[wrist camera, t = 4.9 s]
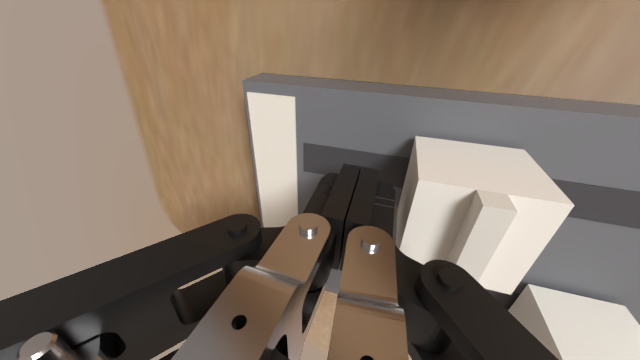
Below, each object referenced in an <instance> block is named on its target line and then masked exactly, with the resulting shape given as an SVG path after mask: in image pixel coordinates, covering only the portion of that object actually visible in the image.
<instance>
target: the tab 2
mask: <svg viewBox="0 0 640 360" xmlns="http://www.w3.org/2000/svg"><path fill="white" fill-rule="evenodd" d="M508 311H509V312H510V313H511V314H512V315H513V316H514V317H515V318H516V319H517V320H518V321H519V322H520V323H521V324H522V325H523V326H524V327H525V328H526V329H527V330H528V331H529V332H530V333H531V334H532V335H534V336H535V337H536V338H537V339H538V340H539V341H540V342H541V343H542V344H543V345H544V346H545V347H546V348H547V349H548V350H549V351H550V352H551V353H552V354H553V355H554V356H555V357H556V358H557V359H558V360H640V325H639V324H638V322H637V321H636V320H635V318H634V317H633V316H632V314H631V313H630V312H629V310H628V309H627V308H626V306H623V305H619V304H614V303H610V302H605V301H601V300H597V299H592V298H588V297H583V296H579V295H575V294H570V293H566V292H562V291H557V290H553V289H548V288H544V287H540V286H535V285H531V284H528V285H527V286H526V287H525V289H524V290H523V291H522V293H521V294H520V295H519V297H518V298H517V299H516V301H515V302H514V304H513V305H512V306H511V308H510V309H509V310H508Z"/></svg>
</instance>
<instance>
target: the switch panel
mask: <svg viewBox="0 0 640 360" xmlns="http://www.w3.org/2000/svg"><path fill="white" fill-rule="evenodd" d="M242 82H243V89H244V97H245V104H246V112H247V120H248V127H249V135H250V143H251V150H252V158H253V166H254V173H255V181H256V189H257V196H258V204H259V211H260V219H261V227H282V226H286V224H287V223H288V221H289V220H290V219H291V218H293V217H294V216H296V215H299V214H302V213H303V211H304V210H305V208H306V206H307V204H308V202H309V200H310V198H311V196H312V195H313V193H314V191H315V189H316V187H317V186H318V183H319V182H320V180H321V178H322V177H324V176H325V175H327V174H328V173H335V174H339V173H340V171H341V168H342V166H343V164H344V163H345V164H351V165H357V166H361V169H362V166H364V167H370V168H376V169H380V171H379V176H378V181H381V182H387V183H391V185H392V186H393V188H394V190H395V191H396V193H395V207H394V224H393V240H394V243H395V245H396V229H397V210H398V206H399V202H400V198H401V194H402V190H403V185H404V181H405V177H406V173H407V169H408V165H409V161H410V157H411V152H412V148H413V144H414V140H415V136H421V137H429V138H436V139H444V140H452V141H460V142H468V143H476V144H484V145H492V146H500V147H508V148H515V149H523V150H525V151H526V152H527V153H528V154H529V155H530V156H531V157H532V158H533V160H534V161H535V162H536V163H537V164H538V165H539V166H540V167H541V168H542V170H543V171H544V172H545V173H546V174H547V175H548V176H549V177H550V178H551V180H552V181H553V182H554V183H555V184H556V185H557V186H558V187H559V188H560V190H561V191H562V192H563V193H564V194H565V195H566V196H567V197H568V198H569V199H570V201H571V202H572V203H573V204H574V205H575V206H574V207H573V208H572V210H571V211H570V213H569V214H568V215H567V217H566V218H565V220H564V221H563V222H562V224H561V225H560V227H559V228H558V229H557V231H556V232H555V234H554V235H553V237H552V238H551V239H550V241H549V242H548V244H547V245H546V246H545V248H544V249H543V251H542V252H541V253H540V255H539V256H538V258H537V259H536V260H535V262H534V263H533V265H532V266H531V267H530V269H529V270H528V272H527V273H526V274H525V276H524V277H523V279H522V280H521V281H520V283H519V284H518V286H517V287H516V288H515V290H514V291H513V293H512V294H511V295H509V294H505V293H501V292H497V291H493V290H488V289H486V290H487V291H488V292H489V293H490V294H491V295H492V296H493V297H494V298H495V299H496V300H497V301H498V302H499V303H500V304H501V305H502V306H503V307H504V308H506V309H507V310H509V309H510V308H511V306H512V305H513V304H514V302H515V301H516V299H517V298H518V297H519V295H520V294H521V293H522V291H523V290H524V289H525V287H526V286H527V285H528V284H531V285H535V286H540V287H544V288H548V289H553V290H557V291H562V292H566V293H570V294H575V295H579V296H583V297H588V298H592V299H597V300H601V301H605V302H610V303H614V304H619V305H623V306H626V308H627V309H628V310H629V312H630V313H631V314H632V316H633V317H634V318H635V320H636V321H637V322H638V324H639V325H640V105H630V104H618V103H606V102H595V101H583V100H571V99H560V98H548V97H536V96H524V95H513V94H501V93H489V92H478V91H466V90H454V89H443V88H431V87H419V86H407V85H396V84H384V83H372V82H361V81H349V80H337V79H326V78H314V77H302V76H290V75H279V74H267V73H261V74H258V75H256V76H253V77H250V78H248V79H245V80H242ZM340 266H341V261H340V265H339V269H338V270H336V269H332V268H331V271H330V274H329V278H328V280H327V282H326V288H325V290H326V291H330V292H333V293H337V294H338V293H339V287H340V281H341V275H342V271H340Z"/></svg>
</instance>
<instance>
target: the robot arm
mask: <svg viewBox="0 0 640 360" xmlns="http://www.w3.org/2000/svg"><path fill="white" fill-rule="evenodd" d="M379 171H380V169H376V168H370V167H364V166H362V169H361V166H357V165H351V164H345V163H344V164H343V166H342V168H341V171H340V173H339V174H335V173H328V174H327V175H325V176H324V177H322V178H321V180H320V182H319V183H318V186H317V187H316V189H315V191H314V193H313V195H312V196H311V198H310V200H309V202H308V204H307V206H306V208H305V210H304V211H303V213H302V214H299V215H296V216H294V217H293V218H291V219H290V220H289V221H288V223H287V224H286V226H282V227H262V228H261V225H260V222H259V220H258V219H257V218H256V217H254V216H252V215H248V214H236V215H232V216H229V217H226V218H223V219H221V220H218V221H215V222H212V223H210V224H207V225H204V226H202V227H199V228H196V229H194V230H191V231H188V232H185V233H183V234H180V235H177V236H175V237H172V238H169V239H166V240H164V241H161V242H159V243H156V244H153V245H151V246H148V247H145V248H142V249H139V250H137V251H134V252H131V253H129V254H126V255H123V256H121V257H118V258H115V259H112V260H110V261H107V262H104V263H102V264H99V265H96V266H94V267H91V268H88V269H85V270H83V271H80V272H78V273H75V274H72V275H70V276H67V277H64V278H61V279H59V280H56V281H53V282H50V283H48V284H45V285H42V286H40V287H37V288H34V289H32V290H29V291H26V292H24V293H21V294H18V295H15V296H13V297H10V298H7V299H5V300H2V301H0V360H150V359H152V358H153V357H155V356H157V355H159V354H160V353H162V352H164V351H165V350H167V349H169V348H171V347H173V346H175V345H176V344H178V343H180V342H181V341H183V340H185V339H186V341H185V342H184V343H183V345H182V346H181V347H180V349H177V350H175V351H173V352H171V353H169V354H168V355H166V356H164V357H163V358H161V359H159V360H300V358H301V355H302V350H303V346H304V342H305V339H306V336H307V334H308V331H309V329H310V326H311V324H312V321H313V319H314V316H315V314H316V311H317V309H318V306H319V304H320V301H321V298H322V296H323V293H324V291H325V288H326V282H327V280H328V278H329V274H330V271H331V268H332V269H336V270H338V269H339V265H340V261H341V266H340V271H342V275H341V281H340V287H339V293H338V297H337V302H336V308H335V315H334V321H333V327H332V333H331V339H330V345H329V352H328V358H327V360H408V353H409V355H410V357H411V358H412V360H558V359H557V358H556V357H555V356H554V355H553V354H552V353H551V352H550V351H549V350H548V349H547V348H546V347H545V346H544V345H543V344H542V343H541V342H540V341H539V340H538V339H537V338H536V337H535V336H534V335H532V334H531V333H530V332H529V331H528V330H527V329H526V328H525V327H524V326H523V325H522V324H521V323H520V322H519V321H518V320H517V319H516V318H515V317H514V316H513V315H512V314H511V313H510V312H509V311H508V310H507V309H506V308H504V307H503V306H502V305H501V304H500V303H499V302H498V301H497V300H496V299H495V298H494V297H493V296H492V295H491V294H490V293H489V292H488V291H487V290H486V289H485V288H484V287H483V286H482V285H481V284H480V283H479V282H477V281H476V280H475V279H474V278H473V277H472V276H471V275H470V274H469V273H468V272H467V271H466V270H464V269H463V268H462V267H460V266H458V265H456V264H454V263H452V262H449V261H445V260H431V261H428V262H426V263H425V264H424V265H423V264H421V263H419V262H417V261H415V260H413V259H411V258H409V257H408V256H406V255H405V254H403V253H402V252H401V251H400V250H399V249H398V248H397V246H396V245H395V243H394V240H393V224H394V207H395V193H396V191H395V190H394V188H393V186H392V185H391V183H387V182H381V181H378V176H379ZM220 268H222V269H223V270H222V271H220V272H218V273H216V274H214V275H211V276H209V277H207V278H205V279H203V280H201V281H199V282H197V283H194V284H192V285H191V286H188V287H186V288H183V289H178V288H179V287H181V286H183V285H185V284H187V283H189V282H191V281H194V280H196V279H198V278H200V277H202V276H204V275H207V274H209V273H211V272H213V271H215V270H217V269H220Z"/></svg>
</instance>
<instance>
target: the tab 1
mask: <svg viewBox="0 0 640 360" xmlns="http://www.w3.org/2000/svg"><path fill="white" fill-rule="evenodd" d="M574 206H575V205H574V204H573V203H572V202H571V201H570V199H569V198H568V197H567V196H566V195H565V194H564V193H563V192H562V191H561V190H560V188H559V187H558V186H557V185H556V184H555V183H554V182H553V181H552V180H551V178H550V177H549V176H548V175H547V174H546V173H545V172H544V171H543V170H542V168H541V167H540V166H539V165H538V164H537V163H536V162H535V161H534V160H533V158H532V157H531V156H530V155H529V154H528V153H527V152H526V151H525V150H523V149H515V148H508V147H500V146H492V145H484V144H476V143H468V142H460V141H452V140H444V139H436V138H429V137H421V136H415V140H414V144H413V148H412V152H411V157H410V161H409V165H408V169H407V173H406V177H405V181H404V185H403V190H402V194H401V198H400V202H399V206H398V210H397V229H396V246H397V248H398V249H399V250H400V251H401V252H402V253H403V254H405V255H406V256H408V257H409V258H411V259H413V260H415V261H417V262H419V263H421V264H423V265H424V264H425V263H426V262H428V261H431V260H445V261H449V262H452V263H454V264H456V265H458V266H460V267H462V268H463V269H464V270H466V271H467V272H468V273H469V274H470V275H471V276H472V277H473V278H474V279H475V280H476V281H477V282H479V283H480V284H481V285H482V286H483V287H484V288H485V289H488V290H493V291H497V292H501V293H505V294H509V295H511V294H512V293H513V291H514V290H515V288H516V287H517V286H518V284H519V283H520V281H521V280H522V279H523V277H524V276H525V274H526V273H527V272H528V270H529V269H530V267H531V266H532V265H533V263H534V262H535V260H536V259H537V258H538V256H539V255H540V253H541V252H542V251H543V249H544V248H545V246H546V245H547V244H548V242H549V241H550V239H551V238H552V237H553V235H554V234H555V232H556V231H557V229H558V228H559V227H560V225H561V224H562V222H563V221H564V220H565V218H566V217H567V215H568V214H569V213H570V211H571V210H572V208H573V207H574Z"/></svg>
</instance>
